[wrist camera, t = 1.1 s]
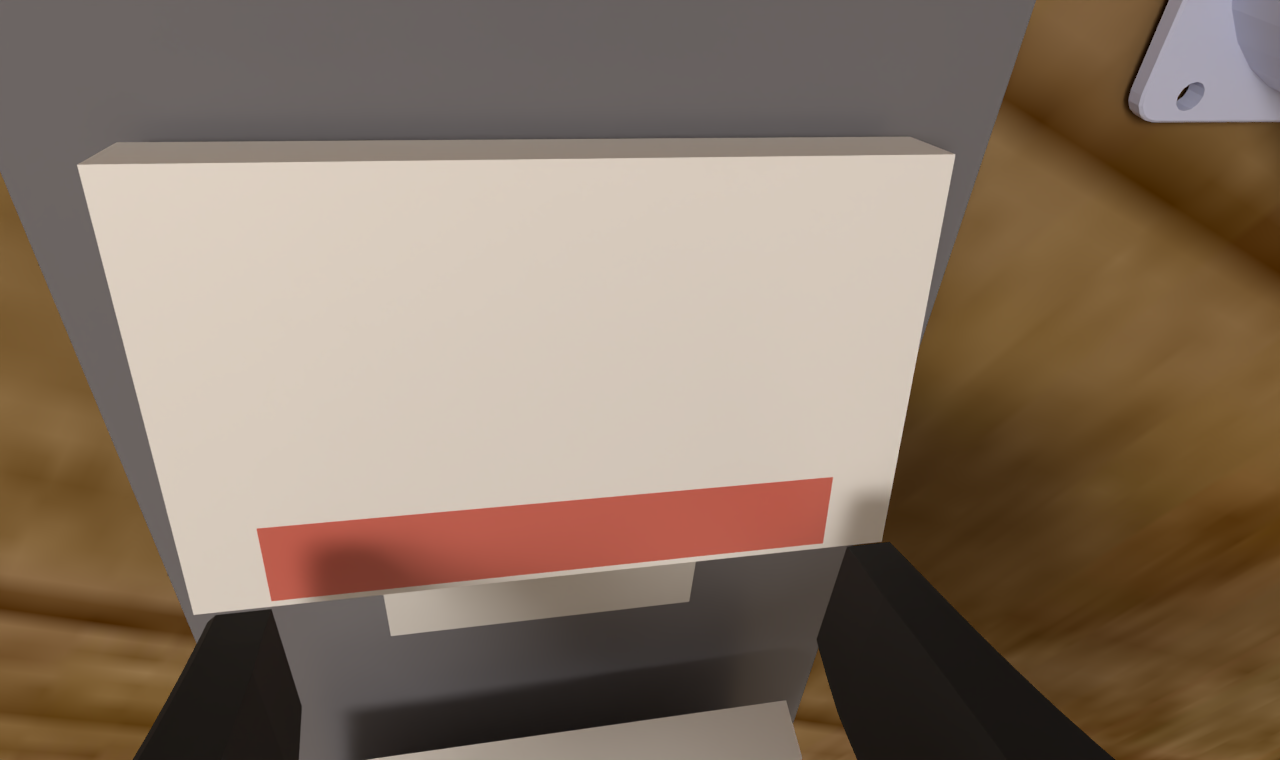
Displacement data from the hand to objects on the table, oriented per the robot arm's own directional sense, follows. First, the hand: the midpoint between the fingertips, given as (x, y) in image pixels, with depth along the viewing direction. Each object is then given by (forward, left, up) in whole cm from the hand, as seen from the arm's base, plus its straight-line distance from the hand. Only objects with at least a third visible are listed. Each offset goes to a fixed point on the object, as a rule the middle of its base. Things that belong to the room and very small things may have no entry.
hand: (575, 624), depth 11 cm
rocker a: (0, -2, -3) cm, 4 cm away
